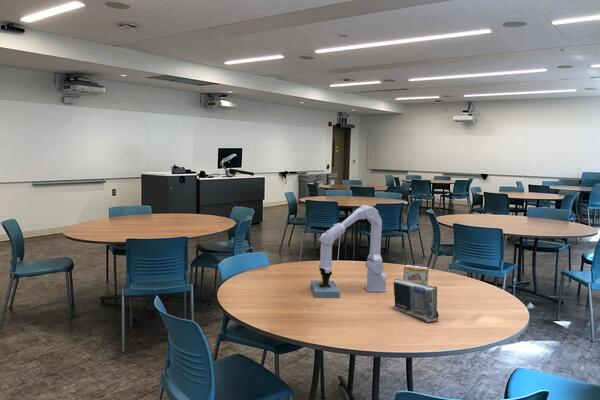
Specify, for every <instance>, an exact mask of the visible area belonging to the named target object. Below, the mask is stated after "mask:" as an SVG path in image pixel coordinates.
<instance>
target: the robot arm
mask: <svg viewBox="0 0 600 400" xmlns="http://www.w3.org/2000/svg"><path fill="white" fill-rule="evenodd" d="M358 220H367V221H368V222H369V223H370V242H369V244H370V245H369V254H368V256H367V260H366V261H365V267H366V269H367V272H366V286H364V289H365V290H366V291H367V292H368V293H369V292H372V293H373V292H374V293H375V292H377V293H378V292H379V293H380V292H387V291H386V289H387V287H386V285H387V275H386V273H385V272H383V271H384V268H385V267H384V264H383V258H382V255H381V247H382V231H383V230H382V227H383V220H382V218H381V216H380V214H379V210H378V209H376V208H375V207H374V206H371V205H367V204H362V205H360V207H358V208H356V209H355V210H354V211H353V212H352V213H351V214H350V215H348V217H347V218H345V219H344V220H343V221H342V222H338V223H334V224H333V226H331V228H329V229H327V230H326V232H323V233H322V234H320V236H319V238H318V239H319V242H320V255H319V256H320V259H319V264H317V268H318V269H319V272H320V276H321V275H322V278H323V284H324V285H328V282H329V281H330V278H331V276H332V274H333V271H331V269H332V268H333V266H332V264H333V263H332V261H333V260H332V259H333V258H332V256H333V244H334V242H335V240H336V239H338V238H340V236H342V235H343V234H344V233H345V232H346V229H347V228H348V227H349V226H351V225H352V224H354V223H355V222H357V221H358Z"/></svg>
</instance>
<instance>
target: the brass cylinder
mask: <svg viewBox="0 0 600 400" xmlns="http://www.w3.org/2000/svg"><path fill="white" fill-rule="evenodd" d="M320 276H321V277H320V278H321V279H320V280H321V287H329V282H328V285H324V284H323V278H322V275H321V274H320Z"/></svg>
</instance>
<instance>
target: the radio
mask: <svg viewBox="0 0 600 400" xmlns="http://www.w3.org/2000/svg"><path fill="white" fill-rule="evenodd" d="M393 295H394V307H393V306H391V307H390V308H391V309H393V310H396V311H399V312H401V313H403V314H406V315H408V316H411V317H412V318H415V319H418V320H421V321H424V322H425V323H429V322H436V321H439V315H440V314H439V312H438V287H437V286H434V285H433V286H432V285H429V284H428V285H422V284H419V283H415V282H411V281H406V280H403V278H395V279H394V280H393Z"/></svg>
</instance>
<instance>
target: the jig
mask: <svg viewBox="0 0 600 400" xmlns="http://www.w3.org/2000/svg"><path fill="white" fill-rule="evenodd" d="M310 288H311V291H312V293H313V296H314V298H315V299H317V298H318V299H319V298H320V299H324V298H325V299H328V298H329V299H340V298H341V291H340V289H339V288H338V286H337V284H336V282H335V280H329V287H321V279H320V280H314V279H313V280H310Z"/></svg>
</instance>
